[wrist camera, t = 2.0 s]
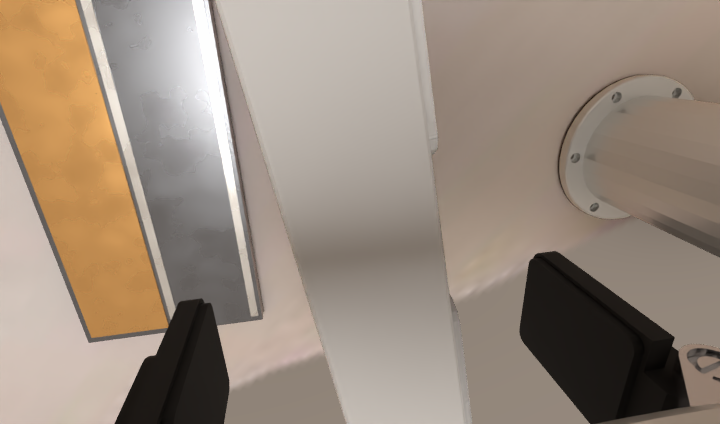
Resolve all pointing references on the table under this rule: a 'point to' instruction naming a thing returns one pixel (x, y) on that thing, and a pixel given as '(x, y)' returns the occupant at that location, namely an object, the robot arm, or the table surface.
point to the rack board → (129, 158)
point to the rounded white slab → (358, 194)
